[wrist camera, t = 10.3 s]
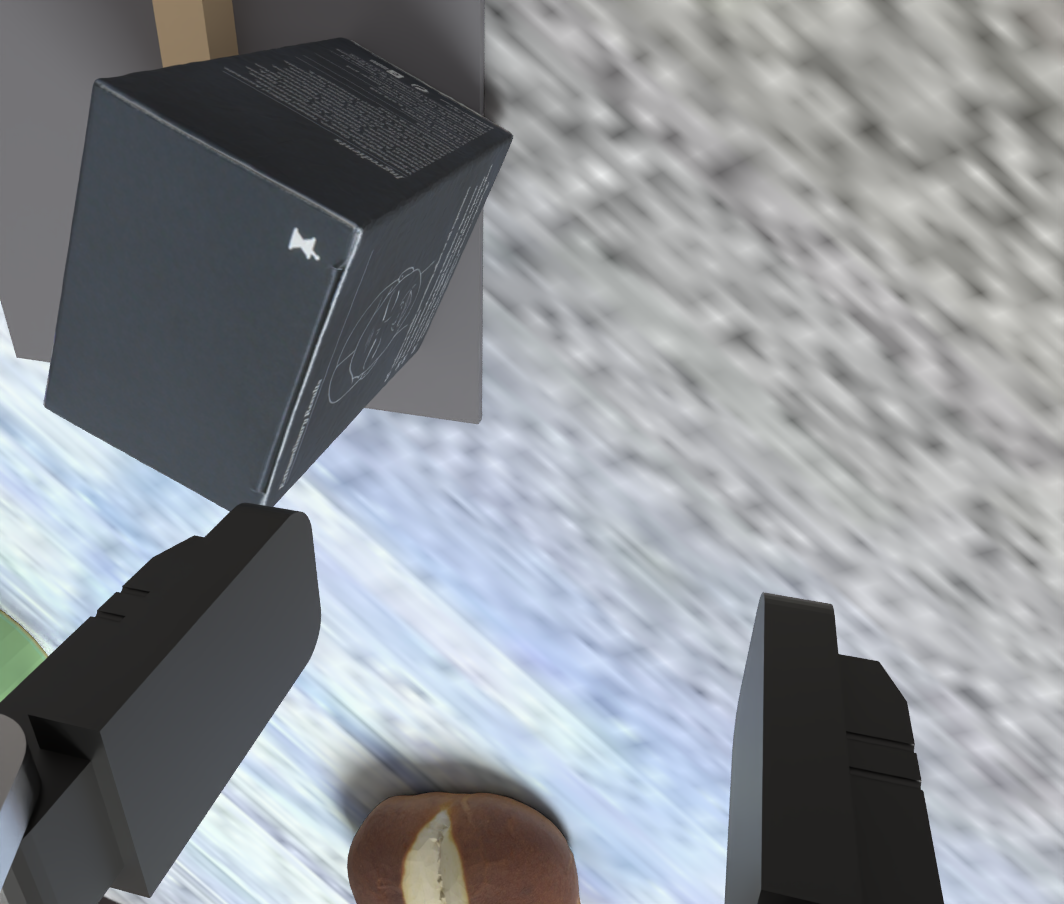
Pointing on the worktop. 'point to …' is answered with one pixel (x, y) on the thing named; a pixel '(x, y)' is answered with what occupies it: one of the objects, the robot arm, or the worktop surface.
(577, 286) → the worktop surface
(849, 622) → the worktop surface
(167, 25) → the mat
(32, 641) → the mug
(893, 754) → the robot arm
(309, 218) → the box
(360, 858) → the bread
